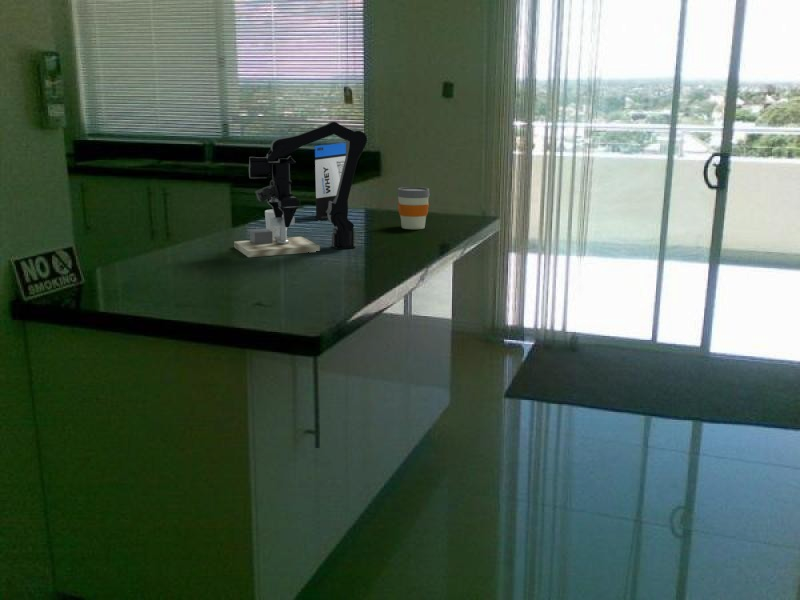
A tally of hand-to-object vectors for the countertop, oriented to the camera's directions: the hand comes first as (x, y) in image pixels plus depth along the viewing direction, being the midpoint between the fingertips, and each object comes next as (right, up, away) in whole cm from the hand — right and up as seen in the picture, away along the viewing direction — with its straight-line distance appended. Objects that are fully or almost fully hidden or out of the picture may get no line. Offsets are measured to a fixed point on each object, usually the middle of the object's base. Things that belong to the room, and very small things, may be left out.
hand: (282, 225), depth 263 cm
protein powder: (+10, +10, +70) cm, 72 cm away
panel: (-2, -8, +2) cm, 9 cm away
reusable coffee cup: (+44, +3, +47) cm, 65 cm away
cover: (-8, -5, +3) cm, 10 cm away
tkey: (-1, -5, +4) cm, 6 cm away
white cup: (-5, -3, +21) cm, 22 cm away
